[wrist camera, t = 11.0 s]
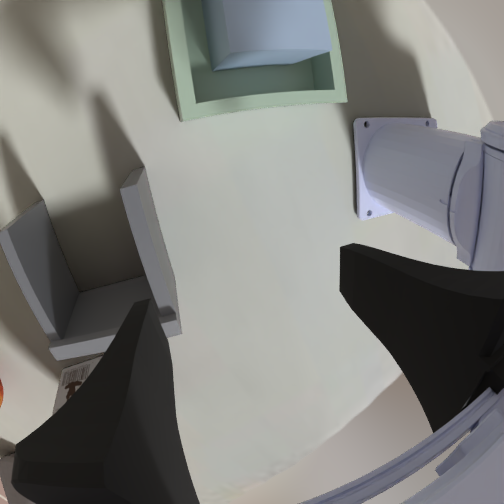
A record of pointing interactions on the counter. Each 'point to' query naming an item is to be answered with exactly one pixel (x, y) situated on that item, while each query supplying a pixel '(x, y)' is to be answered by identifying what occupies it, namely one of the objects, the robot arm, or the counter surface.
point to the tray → (244, 71)
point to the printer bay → (96, 300)
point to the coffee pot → (5, 472)
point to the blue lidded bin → (264, 32)
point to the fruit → (1, 393)
